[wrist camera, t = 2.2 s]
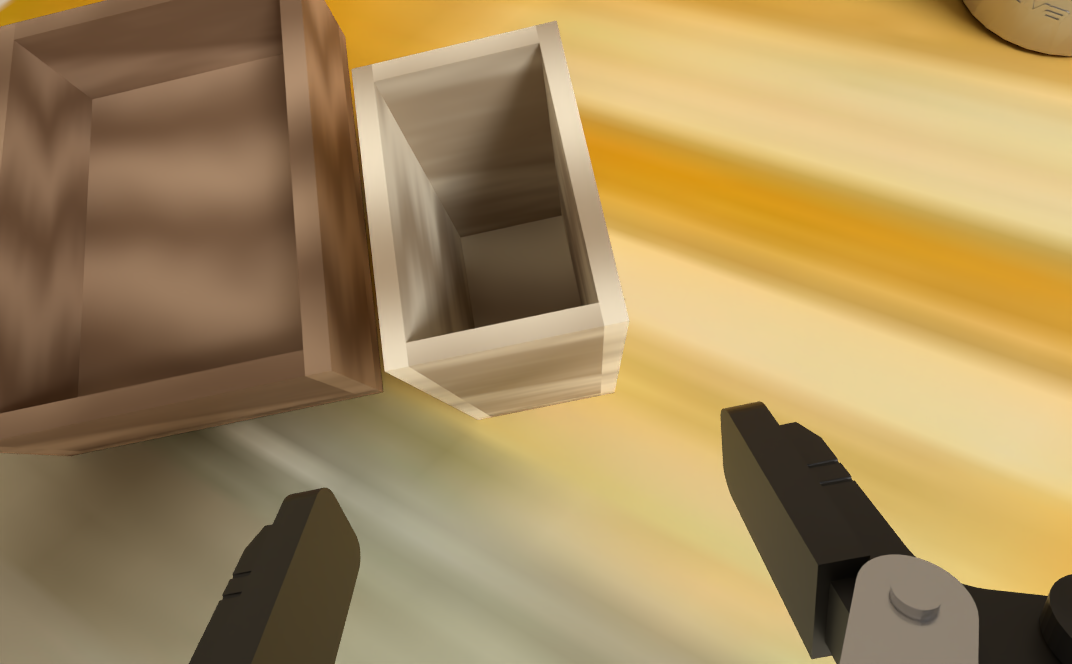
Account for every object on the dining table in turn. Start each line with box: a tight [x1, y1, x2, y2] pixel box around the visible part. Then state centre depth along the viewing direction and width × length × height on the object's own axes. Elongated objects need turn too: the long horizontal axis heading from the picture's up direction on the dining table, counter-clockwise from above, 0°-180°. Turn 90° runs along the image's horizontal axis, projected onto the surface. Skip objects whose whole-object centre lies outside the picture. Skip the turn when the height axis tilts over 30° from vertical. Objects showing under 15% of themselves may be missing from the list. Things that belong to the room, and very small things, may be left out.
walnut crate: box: [0, 0, 383, 456], centre depth 25 cm, size 20×15×5 cm
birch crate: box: [352, 21, 629, 420], centre depth 20 cm, size 9×6×11 cm, turn 11°
